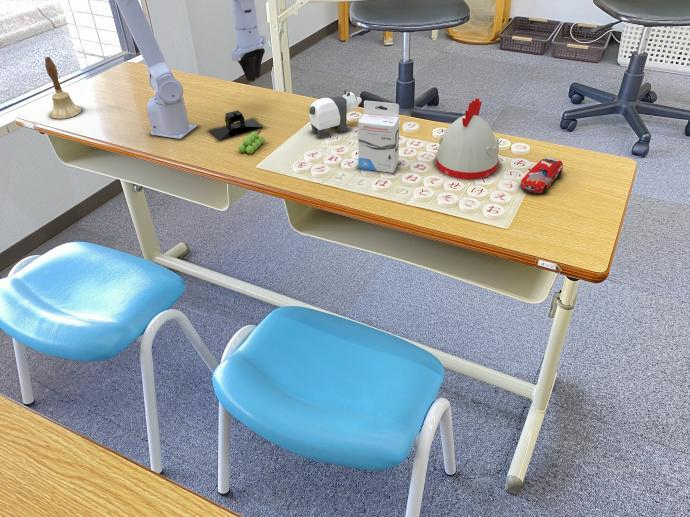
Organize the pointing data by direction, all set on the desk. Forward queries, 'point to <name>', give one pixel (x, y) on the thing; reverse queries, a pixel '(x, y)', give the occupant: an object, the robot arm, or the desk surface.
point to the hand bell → (60, 95)
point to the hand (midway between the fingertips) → (253, 78)
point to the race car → (542, 175)
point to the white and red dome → (468, 147)
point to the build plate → (235, 126)
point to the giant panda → (332, 112)
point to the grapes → (251, 143)
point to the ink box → (379, 137)
